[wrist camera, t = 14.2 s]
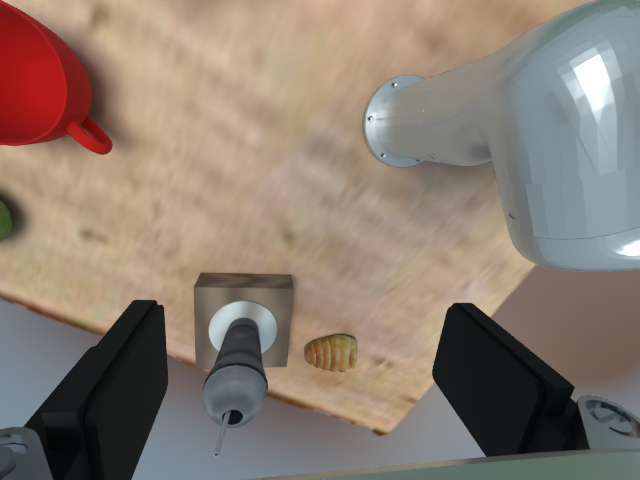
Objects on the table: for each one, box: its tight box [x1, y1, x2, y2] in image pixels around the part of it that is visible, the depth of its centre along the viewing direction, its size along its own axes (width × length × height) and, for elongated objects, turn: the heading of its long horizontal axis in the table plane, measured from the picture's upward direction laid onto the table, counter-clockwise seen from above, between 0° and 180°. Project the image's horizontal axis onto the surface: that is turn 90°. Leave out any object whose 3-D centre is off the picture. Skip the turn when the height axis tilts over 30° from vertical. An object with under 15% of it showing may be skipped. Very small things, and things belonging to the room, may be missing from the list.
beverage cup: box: [203, 317, 268, 457], centre depth 37 cm, size 7×7×20 cm
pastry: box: [304, 335, 357, 372], centre depth 55 cm, size 9×7×4 cm
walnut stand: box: [194, 273, 293, 369], centre depth 49 cm, size 14×14×5 cm
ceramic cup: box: [0, 0, 113, 155], centre depth 34 cm, size 13×17×10 cm
